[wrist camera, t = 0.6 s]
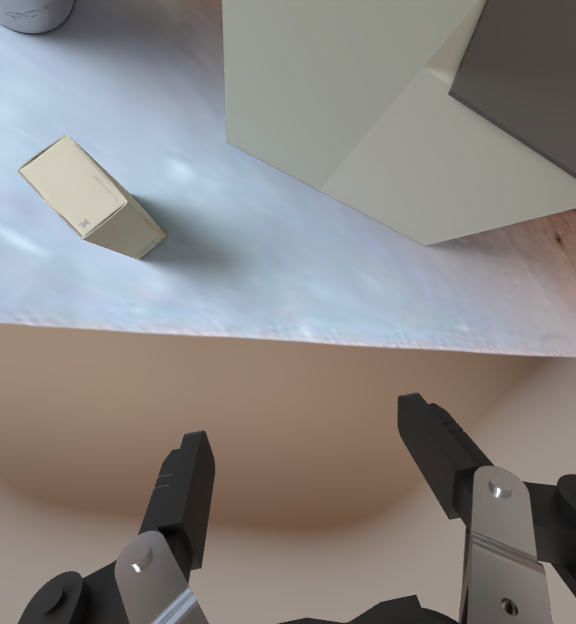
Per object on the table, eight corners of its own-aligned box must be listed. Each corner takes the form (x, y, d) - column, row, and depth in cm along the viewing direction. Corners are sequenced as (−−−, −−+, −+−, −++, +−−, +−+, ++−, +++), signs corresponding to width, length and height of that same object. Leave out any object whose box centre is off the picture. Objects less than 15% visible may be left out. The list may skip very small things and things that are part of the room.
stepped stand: (271, 35, 34) (529, -1599, 5) (462, 153, 40) (1132, -255, 10) (224, 146, 34) (182, -857, 4) (423, 249, 39) (996, 114, 10)
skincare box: (168, 236, 33) (133, 204, 21) (137, 262, 33) (83, 242, 21) (127, 191, 32) (67, 129, 20) (94, 216, 32) (12, 168, 20)
